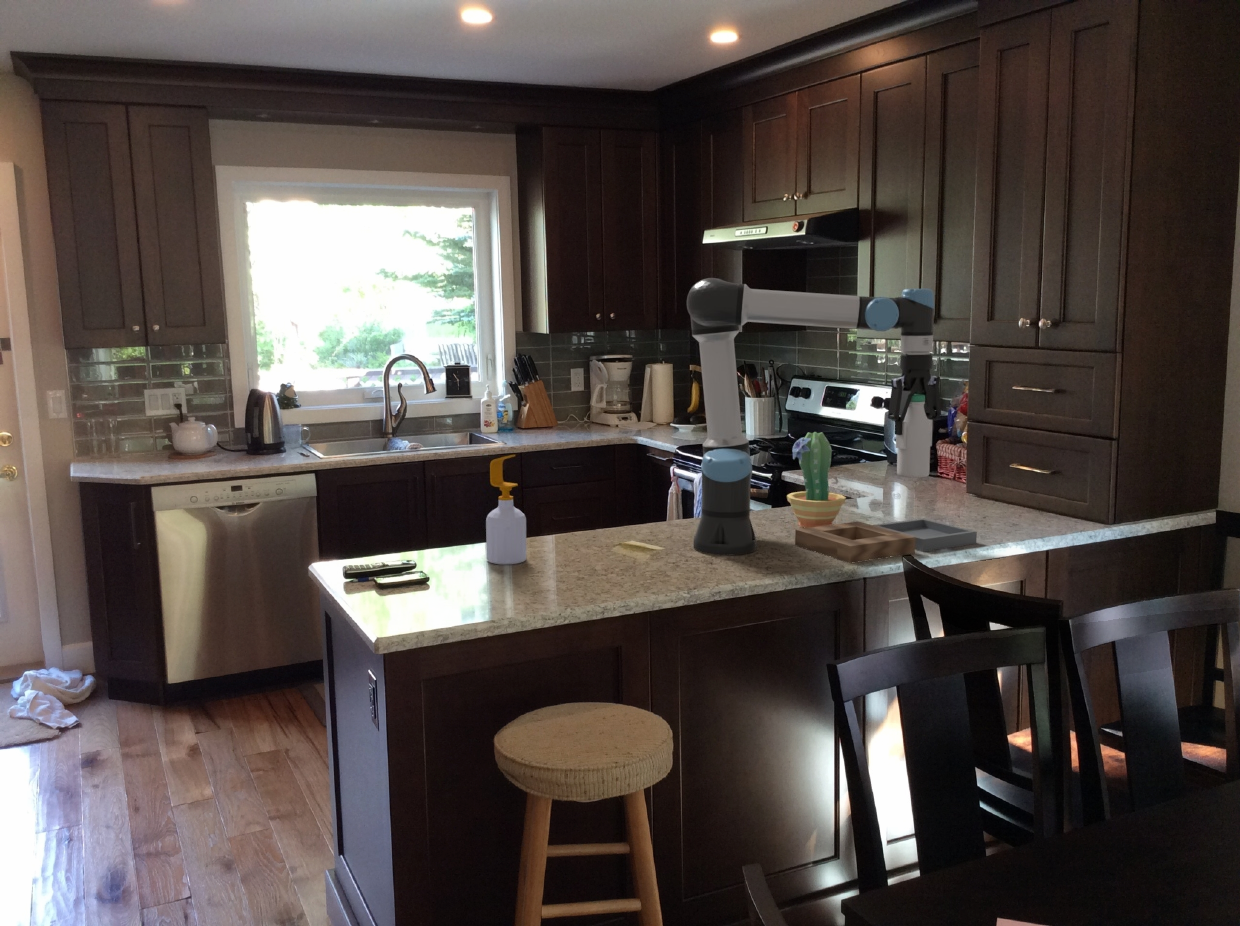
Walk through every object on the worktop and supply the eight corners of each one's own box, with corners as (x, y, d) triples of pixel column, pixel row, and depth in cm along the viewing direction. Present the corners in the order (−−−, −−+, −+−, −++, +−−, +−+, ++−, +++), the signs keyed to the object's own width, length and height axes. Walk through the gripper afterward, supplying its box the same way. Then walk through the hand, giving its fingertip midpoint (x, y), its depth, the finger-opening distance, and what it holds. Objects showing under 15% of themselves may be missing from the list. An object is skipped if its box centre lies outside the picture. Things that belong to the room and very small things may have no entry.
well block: (849, 563, 241) (850, 546, 240) (795, 545, 258) (795, 529, 257) (914, 553, 250) (915, 536, 250) (857, 536, 268) (858, 521, 267)
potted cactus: (786, 518, 289) (789, 428, 286) (844, 521, 287) (847, 429, 283) (785, 530, 274) (787, 435, 270) (845, 533, 272) (849, 437, 268)
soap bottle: (510, 567, 236) (508, 458, 232) (478, 561, 241) (476, 455, 237) (534, 558, 244) (533, 453, 240) (503, 553, 248) (501, 450, 245)
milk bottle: (930, 478, 254) (932, 396, 251) (897, 477, 256) (899, 395, 253) (928, 473, 262) (930, 393, 259) (896, 472, 263) (898, 393, 260)
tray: (922, 551, 252) (923, 539, 252) (870, 536, 268) (871, 525, 267) (976, 543, 261) (976, 531, 260) (922, 529, 276) (923, 518, 276)
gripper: (894, 355, 246) (892, 452, 250) (959, 352, 256) (956, 445, 259) (873, 354, 253) (871, 448, 256) (936, 351, 262) (933, 442, 266)
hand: (913, 446), depth 258 cm, fingers closed on milk bottle, 8 cm apart
